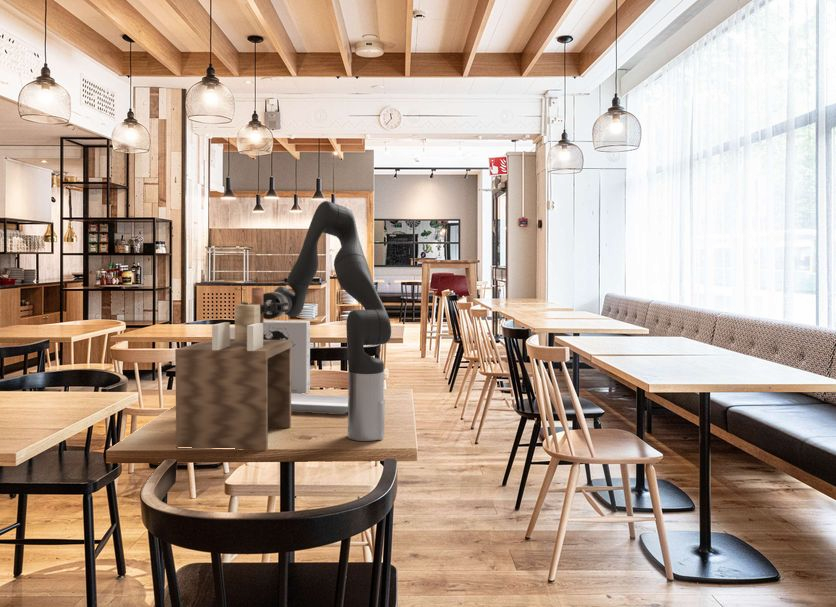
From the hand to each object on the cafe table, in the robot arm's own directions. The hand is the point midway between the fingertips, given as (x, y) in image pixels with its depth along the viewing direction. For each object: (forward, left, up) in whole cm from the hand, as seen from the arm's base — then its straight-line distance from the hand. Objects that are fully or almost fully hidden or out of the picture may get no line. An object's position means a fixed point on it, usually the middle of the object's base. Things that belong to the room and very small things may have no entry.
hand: (254, 309), depth 172 cm
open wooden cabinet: (+3, +5, -33) cm, 33 cm away
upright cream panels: (0, +13, -9) cm, 16 cm away
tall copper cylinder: (0, +2, -8) cm, 8 cm away
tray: (-8, -30, -33) cm, 46 cm away
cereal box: (+9, -56, -33) cm, 66 cm away
